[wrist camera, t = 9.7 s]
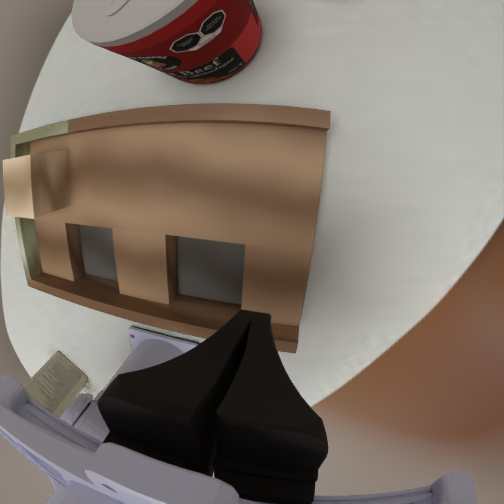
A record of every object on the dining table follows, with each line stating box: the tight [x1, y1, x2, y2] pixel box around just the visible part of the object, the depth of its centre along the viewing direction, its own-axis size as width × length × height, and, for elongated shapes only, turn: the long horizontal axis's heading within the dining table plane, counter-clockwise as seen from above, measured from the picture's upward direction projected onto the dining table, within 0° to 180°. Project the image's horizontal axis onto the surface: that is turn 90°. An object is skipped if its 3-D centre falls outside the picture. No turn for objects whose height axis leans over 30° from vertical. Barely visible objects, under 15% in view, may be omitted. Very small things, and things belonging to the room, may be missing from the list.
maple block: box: [3, 149, 71, 219], centre depth 18 cm, size 5×5×4 cm
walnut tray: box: [11, 104, 331, 353], centre depth 20 cm, size 16×28×4 cm, turn 86°
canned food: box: [72, 0, 262, 84], centre depth 11 cm, size 8×8×11 cm
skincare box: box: [24, 351, 87, 418], centre depth 28 cm, size 6×4×12 cm
